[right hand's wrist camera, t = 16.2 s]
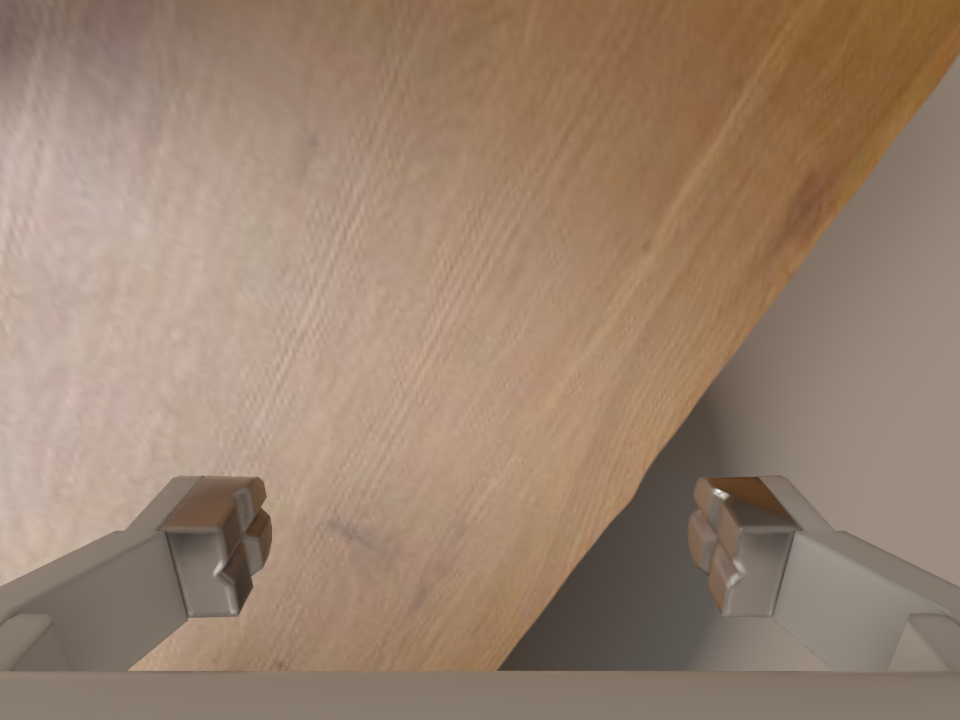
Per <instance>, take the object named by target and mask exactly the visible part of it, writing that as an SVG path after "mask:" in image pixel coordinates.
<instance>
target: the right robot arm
mask: <svg viewBox="0 0 960 720" xmlns="http://www.w3.org/2000/svg"><path fill="white" fill-rule="evenodd" d="M266 497H267V496H266V491H265V487H264V482H263V481H262V480H261V479H260V478H259V477H228V476H206V477H205V476H179V477H175V478H173V479H172V480H171V481H170V482H169V483H168V484H167V485H166V486H165V487H164V489H163V490H162V491H161V492H160V493H159V494H158V495H157V496H156V497H155V498H154V499H153V500H152V502H151V503H150V504H149V505H148V506H147V507H146V508H145V509H144V510H143V511H142V512H141V513H140V515H139V516H138V517H137V518H136V519H135V520H134V521H133V522H132V523H131V524H130V525H129V527H128V528H127V529H126V530H125V531H114V532H112V533H110V534H108V535H106V536H104V537H102V538H100V539H98V540H96V541H94V542H92V543H90V544H88V545H86V546H84V547H81V548H79V549H77V550H75V551H73V552H71V553H69V554H67V555H65V556H63V557H61V558H59V559H57V560H55V561H53V562H51V563H48V564H46V565H44V566H42V567H40V568H38V569H36V570H34V571H32V572H30V573H28V574H26V575H24V576H22V577H20V578H18V579H16V580H13V581H11V582H9V583H7V584H5V585H3V586H1V587H0V720H960V587H959V586H957V585H954V584H952V583H950V582H948V581H946V580H944V579H942V578H940V577H938V576H936V575H934V574H932V573H930V572H928V571H926V570H924V569H922V568H920V567H917V566H915V565H913V564H911V563H909V562H907V561H905V560H903V559H901V558H899V557H897V556H895V555H893V554H891V553H889V552H887V551H885V550H883V549H881V548H878V547H876V546H874V545H872V544H870V543H868V542H866V541H864V540H862V539H860V538H858V537H856V536H854V535H852V534H850V533H848V532H846V531H835V530H834V529H833V528H832V527H831V525H830V524H829V523H828V522H827V521H826V520H825V519H824V518H823V517H822V516H821V515H820V513H819V512H818V511H817V510H816V509H815V508H814V507H813V506H812V505H811V504H810V503H809V502H808V500H807V499H806V498H805V497H804V496H803V495H802V494H801V493H800V492H799V491H798V490H797V488H796V487H795V486H794V485H793V484H792V483H791V482H790V481H789V480H788V479H787V478H785V477H783V476H754V477H723V478H699V479H698V481H697V483H696V485H695V491H694V496H693V497H694V499H695V500H696V502H697V504H698V506H699V508H698V509H697V510H696V511H695V512H694V513H693V514H692V515H691V516H690V520H689V527H688V539H689V548H690V551H691V555H692V558H693V560H694V562H695V564H696V566H697V568H698V569H699V570H701V571H702V572H704V573H705V574H707V575H708V576H709V578H708V584H707V588H708V590H709V592H710V594H711V596H712V598H713V599H714V601H715V603H716V605H717V607H718V609H719V611H720V613H721V615H722V616H725V617H761V618H773V619H772V620H773V621H774V622H775V623H776V624H777V625H779V626H780V627H781V628H782V629H784V630H785V631H786V632H787V633H788V634H790V635H791V636H792V637H793V638H794V639H796V640H797V641H798V642H799V643H800V644H802V645H803V646H804V647H805V648H806V649H808V650H809V651H810V652H811V653H813V654H814V655H815V656H816V657H817V658H819V659H820V660H821V661H822V662H824V663H825V664H826V665H827V666H828V667H830V668H831V669H832V670H833V671H127V670H128V669H129V668H131V667H132V666H133V665H134V664H136V663H137V662H138V661H139V660H140V659H142V658H143V657H144V656H145V655H146V654H148V653H149V652H150V651H151V650H153V649H154V648H155V647H156V646H157V645H159V644H160V643H161V642H162V641H163V640H165V639H166V638H167V637H168V636H170V635H171V634H172V633H173V632H174V631H176V630H177V629H178V628H179V627H180V626H182V625H183V624H184V623H185V622H186V621H188V619H187V618H198V617H233V616H238V615H239V613H240V611H241V609H242V607H243V605H244V603H245V601H246V600H247V598H248V596H249V594H250V592H251V590H252V588H253V584H252V578H251V576H252V575H253V574H255V573H256V572H258V571H259V570H261V569H262V568H263V566H264V564H265V562H266V560H267V558H268V555H269V551H270V546H271V542H272V525H271V519H270V516H269V515H268V514H267V513H266V512H265V511H264V510H263V509H262V508H261V506H262V504H263V502H264V500H265V499H266Z"/></svg>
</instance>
